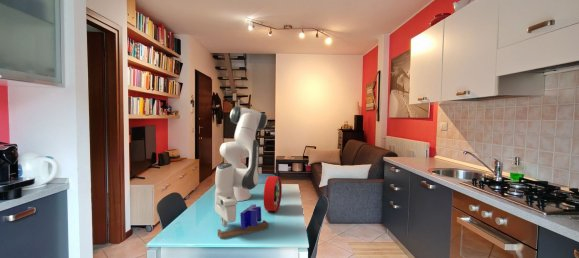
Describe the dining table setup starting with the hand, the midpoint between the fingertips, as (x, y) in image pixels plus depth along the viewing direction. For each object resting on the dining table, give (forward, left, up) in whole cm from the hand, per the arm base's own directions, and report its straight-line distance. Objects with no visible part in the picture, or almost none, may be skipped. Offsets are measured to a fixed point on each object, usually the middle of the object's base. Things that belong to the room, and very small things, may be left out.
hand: (224, 225), depth 136 cm
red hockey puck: (-15, +35, -2) cm, 38 cm away
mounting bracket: (+3, +10, +4) cm, 11 cm away
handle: (+9, +7, -2) cm, 11 cm away
